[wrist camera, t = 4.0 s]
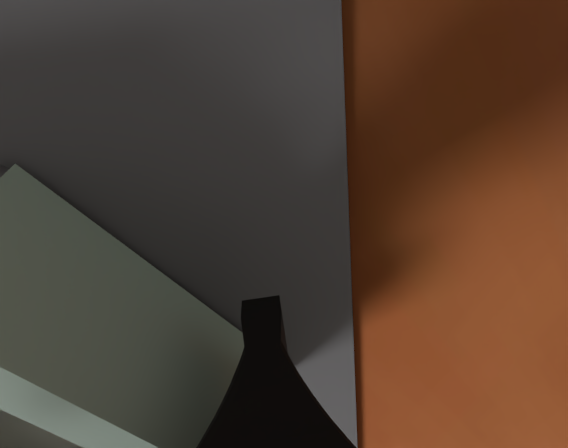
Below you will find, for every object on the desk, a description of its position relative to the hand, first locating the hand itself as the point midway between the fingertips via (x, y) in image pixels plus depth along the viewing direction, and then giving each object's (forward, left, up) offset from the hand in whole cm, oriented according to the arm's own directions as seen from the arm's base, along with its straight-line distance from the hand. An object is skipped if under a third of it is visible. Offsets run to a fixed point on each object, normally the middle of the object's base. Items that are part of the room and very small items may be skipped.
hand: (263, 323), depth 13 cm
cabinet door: (0, +3, -2) cm, 3 cm away
